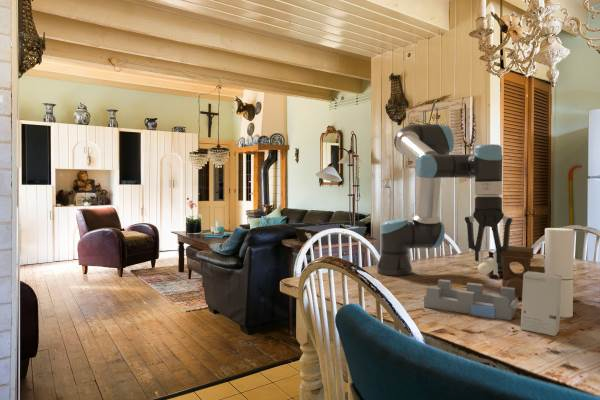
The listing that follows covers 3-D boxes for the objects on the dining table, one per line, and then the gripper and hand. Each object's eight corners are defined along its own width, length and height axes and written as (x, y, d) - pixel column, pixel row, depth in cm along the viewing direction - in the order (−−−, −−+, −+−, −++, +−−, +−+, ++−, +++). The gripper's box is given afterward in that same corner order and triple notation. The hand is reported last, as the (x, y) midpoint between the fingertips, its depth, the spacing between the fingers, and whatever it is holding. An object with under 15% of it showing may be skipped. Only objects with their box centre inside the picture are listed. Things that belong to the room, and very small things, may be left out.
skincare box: (520, 330, 109) (520, 273, 109) (525, 324, 114) (526, 270, 113) (557, 337, 104) (558, 277, 103) (561, 330, 108) (562, 273, 108)
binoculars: (492, 256, 166) (483, 250, 176) (491, 281, 168) (482, 274, 178) (515, 256, 166) (505, 250, 175) (514, 282, 167) (504, 274, 177)
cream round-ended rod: (476, 275, 121) (476, 263, 121) (486, 267, 133) (486, 256, 133) (489, 276, 119) (489, 264, 119) (498, 268, 131) (498, 257, 131)
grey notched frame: (423, 307, 130) (423, 287, 130) (437, 296, 143) (437, 279, 142) (510, 320, 116) (510, 299, 116) (517, 307, 129) (517, 288, 129)
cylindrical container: (568, 311, 125) (569, 228, 124) (576, 318, 118) (576, 230, 117) (541, 309, 127) (542, 227, 126) (547, 316, 120) (548, 230, 120)
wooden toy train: (498, 297, 142) (498, 248, 141) (502, 290, 151) (502, 244, 151) (568, 305, 131) (569, 253, 130) (568, 297, 141) (568, 248, 140)
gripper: (456, 196, 127) (456, 272, 128) (517, 196, 118) (516, 278, 119) (462, 195, 134) (462, 268, 134) (520, 195, 124) (520, 273, 125)
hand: (488, 272), depth 126 cm, fingers closed on cream round-ended rod, 3 cm apart
